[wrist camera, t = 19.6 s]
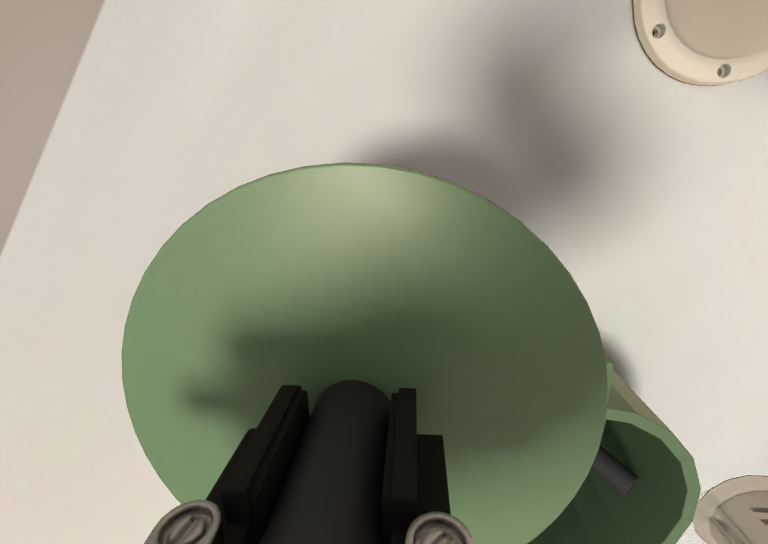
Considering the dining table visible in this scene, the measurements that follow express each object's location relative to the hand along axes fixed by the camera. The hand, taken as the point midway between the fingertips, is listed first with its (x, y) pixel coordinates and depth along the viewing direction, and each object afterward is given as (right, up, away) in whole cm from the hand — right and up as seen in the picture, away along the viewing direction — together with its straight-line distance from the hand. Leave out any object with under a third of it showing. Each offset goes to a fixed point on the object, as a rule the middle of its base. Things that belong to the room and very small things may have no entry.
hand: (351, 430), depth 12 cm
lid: (0, 0, +1) cm, 1 cm away
